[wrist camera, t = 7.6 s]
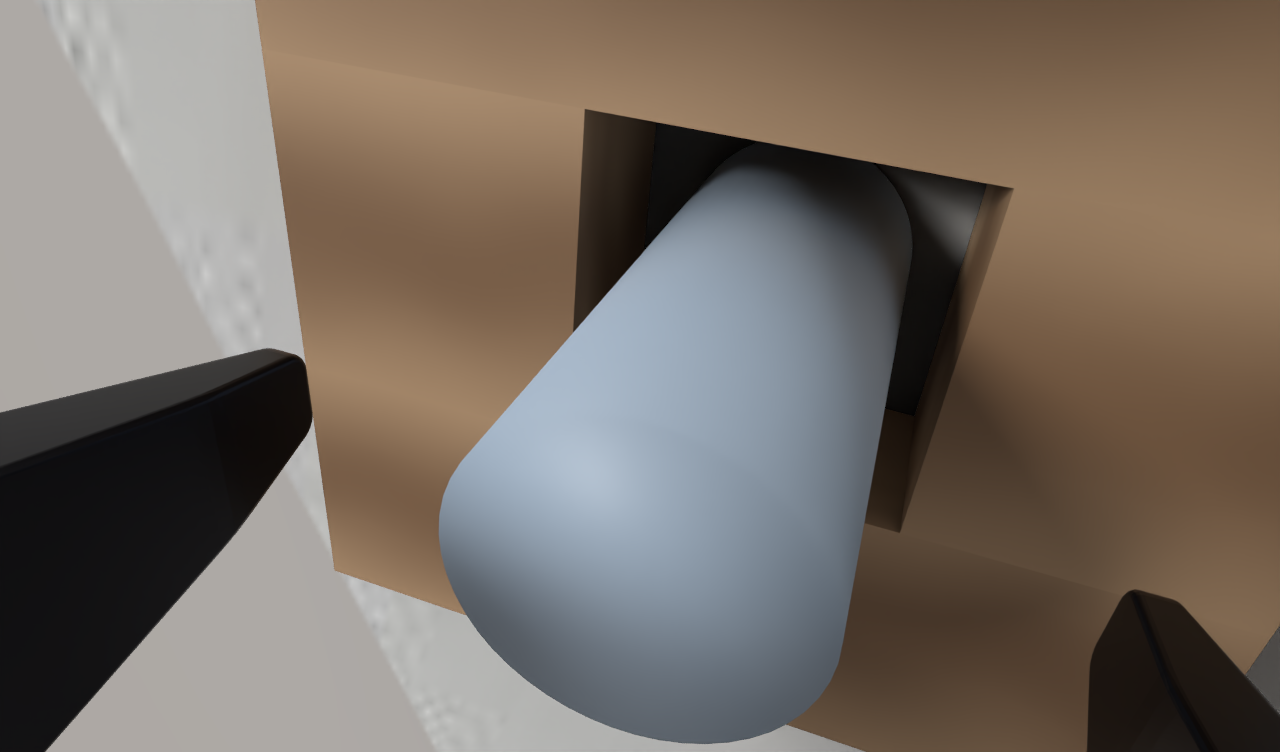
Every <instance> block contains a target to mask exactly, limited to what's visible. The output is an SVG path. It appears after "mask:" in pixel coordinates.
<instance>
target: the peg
mask: <svg viewBox="0 0 1280 752" xmlns="http://www.w3.org/2000/svg"><path fill="white" fill-rule="evenodd" d="M911 260H912V233H911V227H910V222H909V218H908V214H907V212H906V209H905V207H904V204H903V202H902V200H901V198H900V196H899V195H898V193H897V191H896V189H895V188H894V186H893V185H892V184H891V182H890V181H889V180H888V178H887V177H886V176H885V175H884V174H883V173H882V172H881V171H880V170H879V169H878V168H877V167H876V166H875V165H874V164H873V163H871V162H869V161H863V160H858V159H852V158H847V157H842V156H836V155H831V154H825V153H820V152H815V151H809V150H804V149H799V148H793V147H788V146H782V145H777V144H772V143H766V142H761V141H760V142H757V143H755V144H752V145H750V146H748V147H745V148H743V149H741V150H740V151H738V152H737V153H735V154H733V155H732V156H730V157H729V158H728V159H727V160H725V161H724V162H723V163H722V164H720V165H719V166H718V167H717V168H716V170H715V171H714V172H713V173H712V174H711V175H710V176H709V177H708V178H707V179H706V181H705V182H704V183H703V184H702V185H701V186H700V188H699V189H698V190H697V191H696V192H695V193H694V194H693V196H692V197H691V198H690V199H689V200H688V201H687V202H686V204H685V205H684V206H683V207H682V208H681V209H680V211H679V212H678V213H677V214H676V215H675V216H674V217H673V219H672V220H671V221H670V222H669V223H668V224H667V225H666V227H665V228H664V229H663V230H662V231H661V232H660V234H659V235H658V236H657V237H656V238H655V239H654V240H653V242H652V243H651V244H650V245H649V246H648V247H647V248H646V250H645V251H644V252H643V253H642V254H641V255H640V257H639V258H638V259H637V260H636V261H635V262H634V263H633V265H632V266H631V267H630V268H629V269H628V270H627V271H626V273H625V274H624V275H623V276H622V277H621V278H620V280H619V281H618V282H617V283H616V284H615V285H614V286H613V288H612V289H611V290H610V291H609V292H608V293H607V294H606V296H605V297H604V298H603V299H602V300H601V301H600V303H599V304H598V305H597V306H596V307H595V308H594V309H593V311H592V312H591V313H590V314H589V315H588V316H587V317H586V319H585V320H584V321H583V322H582V323H581V324H580V326H579V327H578V328H577V329H576V330H575V331H574V332H573V334H572V335H571V336H570V337H569V338H568V339H567V340H566V342H565V343H564V344H563V345H562V346H561V347H560V349H559V350H558V351H557V352H556V353H555V354H554V355H553V357H552V358H551V359H550V360H549V361H548V362H547V363H546V365H545V366H544V367H543V368H542V369H541V370H540V372H539V373H538V374H537V375H536V376H535V377H534V378H533V380H532V381H531V382H530V383H529V384H528V385H527V386H526V388H525V389H524V390H523V391H522V392H521V393H520V395H519V396H518V397H517V398H516V399H515V400H514V401H513V403H512V404H511V405H510V406H509V407H508V408H507V409H506V411H505V412H504V413H503V414H502V415H501V416H500V418H499V419H498V420H497V421H496V422H495V423H494V424H493V426H492V427H491V428H490V429H489V430H488V431H487V432H486V434H485V435H484V436H483V437H482V438H481V439H480V441H479V442H478V443H477V444H476V445H475V446H474V447H473V449H472V450H471V451H470V452H469V453H468V454H467V455H466V457H465V458H464V459H463V460H462V461H461V462H460V464H459V466H458V467H457V469H456V470H455V472H454V473H453V475H452V476H451V478H450V480H449V483H448V485H447V488H446V490H445V493H444V495H443V499H442V504H441V509H440V514H439V541H440V549H441V555H442V559H443V563H444V567H445V570H446V574H447V576H448V579H449V581H450V584H451V586H452V589H453V591H454V594H455V595H456V597H457V599H458V601H459V603H460V605H461V606H462V608H463V610H464V612H465V613H466V615H467V616H468V618H469V619H470V621H471V622H472V624H473V625H474V627H475V628H476V629H477V631H478V632H479V633H480V635H481V636H482V637H483V638H484V639H485V640H486V642H487V643H488V644H489V645H490V646H491V648H492V649H493V650H494V651H495V652H496V653H497V654H498V655H499V656H500V657H501V658H502V659H503V660H504V661H505V662H506V663H507V664H508V665H509V666H510V667H512V668H513V669H514V670H515V671H516V672H518V673H519V674H520V675H521V676H522V677H523V678H525V679H526V680H527V681H528V682H530V683H531V684H533V685H534V686H535V687H537V688H538V689H540V690H541V691H542V692H544V693H545V694H547V695H548V696H550V697H552V698H553V699H555V700H556V701H558V702H560V703H561V704H563V705H565V706H566V707H568V708H570V709H572V710H574V711H576V712H578V713H580V714H582V715H584V716H586V717H588V718H590V719H593V720H595V721H598V722H600V723H603V724H605V725H608V726H610V727H613V728H616V729H619V730H622V731H625V732H628V733H632V734H635V735H639V736H644V737H648V738H652V739H657V740H663V741H671V742H678V743H694V744H712V743H727V742H733V741H739V740H744V739H750V738H753V737H756V736H759V735H762V734H765V733H769V732H771V731H773V730H775V729H777V728H779V727H782V726H784V725H786V724H788V723H789V722H791V721H792V720H794V719H795V718H797V717H798V716H800V715H801V714H802V713H804V712H805V711H806V710H807V709H808V708H809V707H810V706H811V705H812V704H813V703H814V702H815V701H816V700H817V699H818V698H819V697H820V696H821V694H822V693H823V692H824V690H825V689H826V687H827V686H828V684H829V683H830V681H831V679H832V677H833V674H834V672H835V670H836V667H837V665H838V663H839V658H840V653H841V649H842V644H843V639H844V633H845V628H846V622H847V617H848V611H849V605H850V600H851V594H852V589H853V583H854V577H855V572H856V566H857V561H858V555H859V550H860V544H861V538H862V533H863V527H864V522H865V516H866V511H867V505H868V499H869V494H870V488H871V483H872V477H873V472H874V466H875V460H876V455H877V449H878V444H879V438H880V432H881V427H882V421H883V416H884V410H885V405H886V399H887V393H888V388H889V382H890V377H891V371H892V366H893V360H894V354H895V349H896V343H897V338H898V332H899V327H900V321H901V315H902V310H903V304H904V299H905V293H906V287H907V282H908V276H909V271H910V265H911Z"/></svg>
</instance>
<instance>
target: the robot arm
mask: <svg viewBox="0 0 1280 752" xmlns="http://www.w3.org/2000/svg"><path fill="white" fill-rule="evenodd" d="M312 417H313V412H312V404H311V397H310V390H309V383H308V376H307V369H306V365H305V363H304V361H303V360H302V359H301V358H300V357H299V356H297V355H294V354H291V353H287V352H284V351H280V350H276V349H272V348H266V349H261V350H257V351H253V352H248V353H244V354H240V355H236V356H232V357H228V358H224V359H220V360H215V361H211V362H208V363H203V364H199V365H195V366H191V367H187V368H182V369H178V370H174V371H170V372H166V373H162V374H158V375H154V376H149V377H145V378H141V379H137V380H133V381H129V382H125V383H120V384H116V385H112V386H108V387H104V388H100V389H96V390H92V391H87V392H83V393H79V394H75V395H71V396H67V397H63V398H59V399H55V400H50V401H46V402H42V403H38V404H34V405H30V406H25V407H21V408H17V409H13V410H9V411H5V412H1V413H0V752H46V750H47V749H48V748H49V747H50V746H51V745H52V744H53V742H54V741H55V740H56V739H57V738H58V737H59V736H60V734H61V733H62V732H63V731H64V730H65V728H67V726H68V725H69V724H70V723H71V722H72V720H74V718H75V717H76V716H77V715H78V714H79V713H80V711H81V710H82V709H83V708H84V707H85V706H86V705H87V704H88V702H89V701H90V700H91V699H92V698H93V697H94V696H95V694H96V693H97V692H98V691H99V690H100V689H101V688H102V686H103V685H104V684H105V683H106V682H107V681H108V680H109V678H110V677H111V676H112V675H113V674H114V672H116V670H117V669H118V668H119V667H120V666H121V665H122V663H123V662H124V661H125V660H126V659H127V658H128V657H129V656H130V654H131V653H132V652H133V651H134V650H135V649H136V648H137V646H138V645H139V644H140V643H141V642H142V641H143V640H144V639H145V637H146V636H147V635H148V634H149V633H150V632H151V631H152V629H153V628H154V627H155V626H156V625H157V624H158V623H159V621H160V620H161V619H162V618H163V617H164V616H165V615H166V613H167V612H168V611H169V610H170V609H171V608H172V607H173V605H174V604H175V603H176V602H177V601H178V600H179V599H180V597H181V596H182V595H183V594H184V593H185V592H186V590H187V589H188V588H189V587H190V586H191V585H192V584H193V583H194V581H195V580H196V579H197V578H198V577H199V575H201V573H202V572H203V571H204V570H205V569H206V568H207V566H208V565H209V564H210V563H211V562H212V561H213V560H214V559H215V557H216V556H217V555H218V554H219V553H220V552H221V551H222V549H223V548H224V547H225V546H226V545H227V543H228V542H229V541H230V540H231V539H232V537H233V536H234V535H235V534H236V533H237V531H238V530H239V529H240V527H241V526H242V525H243V523H244V522H245V521H246V519H247V518H248V517H249V515H250V514H251V513H252V511H253V510H254V508H255V507H256V506H257V504H258V503H259V501H260V500H261V498H262V497H263V496H264V494H265V493H266V491H267V490H268V489H269V487H270V486H271V484H272V483H273V481H274V480H275V479H276V477H277V476H278V475H279V473H280V472H281V470H282V469H283V468H284V466H285V465H286V463H287V462H288V461H289V459H290V458H291V456H292V455H293V454H294V452H295V451H296V449H297V448H298V446H299V445H300V444H301V442H302V441H303V439H304V438H305V437H306V435H307V433H308V431H309V429H310V427H311V423H312ZM1087 752H1280V714H1279V713H1278V712H1277V711H1276V709H1275V708H1274V707H1273V706H1272V705H1271V704H1270V703H1269V702H1268V700H1267V699H1266V698H1265V697H1264V696H1263V695H1262V694H1261V693H1260V691H1259V690H1258V689H1257V688H1256V687H1255V686H1254V685H1253V684H1252V682H1251V681H1250V680H1249V679H1248V678H1247V677H1246V676H1245V675H1244V673H1243V672H1242V671H1241V670H1240V669H1239V668H1238V667H1237V666H1236V664H1235V663H1234V662H1233V661H1232V660H1231V659H1230V658H1229V657H1228V655H1227V654H1226V653H1225V652H1224V651H1223V650H1222V649H1221V648H1220V646H1219V645H1218V644H1217V643H1216V642H1215V641H1214V640H1213V639H1212V638H1211V636H1210V635H1209V634H1208V633H1207V632H1206V631H1205V630H1204V629H1203V627H1202V626H1201V625H1200V624H1199V623H1198V622H1197V621H1196V620H1195V618H1194V617H1193V616H1192V615H1191V614H1190V613H1189V612H1188V611H1187V609H1186V608H1185V607H1184V606H1183V605H1182V604H1180V603H1179V602H1178V601H1176V600H1174V599H1171V598H1167V597H1163V596H1160V595H1156V594H1153V593H1149V592H1145V591H1142V590H1138V589H1134V590H1131V591H1128V592H1127V593H1126V594H1125V595H1124V596H1123V597H1122V598H1121V600H1120V601H1119V603H1118V605H1117V607H1116V609H1115V610H1114V612H1113V614H1112V616H1111V618H1110V620H1109V621H1108V623H1107V625H1106V627H1105V629H1104V631H1103V632H1102V634H1101V636H1100V638H1099V640H1098V642H1097V643H1096V646H1095V648H1094V650H1093V653H1092V657H1091V662H1090V669H1089V696H1088V728H1087Z"/></svg>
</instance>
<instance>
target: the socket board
mask: <svg viewBox="0 0 1280 752" xmlns="http://www.w3.org/2000/svg"><path fill="white" fill-rule="evenodd" d="M255 3H256V10H257V17H258V24H259V32H260V39H261V46H262V53H263V60H264V67H265V75H266V82H267V89H268V96H269V103H270V110H271V118H272V125H273V132H274V139H275V146H276V153H277V161H278V168H279V175H280V182H281V189H282V196H283V204H284V211H285V218H286V225H287V232H288V239H289V247H290V254H291V261H292V268H293V275H294V282H295V290H296V297H297V304H298V311H299V318H300V325H301V332H302V340H303V347H304V354H305V361H306V368H307V375H308V383H309V390H310V397H311V404H312V411H313V418H314V426H315V433H316V440H317V447H318V454H319V461H320V469H321V476H322V483H323V490H324V497H325V504H326V512H327V519H328V526H329V533H330V540H331V547H332V555H333V562H334V569H335V571H338V572H341V573H344V574H347V575H350V576H353V577H356V578H358V579H361V580H364V581H367V582H370V583H373V584H376V585H379V586H382V587H385V588H388V589H391V590H394V591H397V592H400V593H402V594H405V595H408V596H411V597H414V598H417V599H420V600H423V601H426V602H429V603H432V604H435V605H438V606H441V607H444V608H446V609H449V610H452V611H455V612H458V613H461V614H464V615H466V613H465V612H464V610H463V608H462V606H461V605H460V603H459V601H458V599H457V597H456V595H455V594H454V591H453V589H452V586H451V584H450V581H449V579H448V576H447V574H446V570H445V567H444V563H443V559H442V555H441V549H440V541H439V514H440V509H441V504H442V499H443V495H444V493H445V490H446V488H447V485H448V483H449V480H450V478H451V476H452V475H453V473H454V472H455V470H456V469H457V467H458V466H459V464H460V462H461V461H462V460H463V459H464V458H465V457H466V455H467V454H468V453H469V452H470V451H471V450H472V449H473V447H474V446H475V445H476V444H477V443H478V442H479V441H480V439H481V438H482V437H483V436H484V435H485V434H486V432H487V431H488V430H489V429H490V428H491V427H492V426H493V424H494V423H495V422H496V421H497V420H498V419H499V418H500V416H501V415H502V414H503V413H504V412H505V411H506V409H507V408H508V407H509V406H510V405H511V404H512V403H513V401H514V400H515V399H516V398H517V397H518V396H519V395H520V393H521V392H522V391H523V390H524V389H525V388H526V386H527V385H528V384H529V383H530V382H531V381H532V380H533V378H534V377H535V376H536V375H537V374H538V373H539V372H540V370H541V369H542V368H543V367H544V366H545V365H546V363H547V362H548V361H549V360H550V359H551V358H552V357H553V355H554V354H555V353H556V352H557V351H558V350H559V349H560V347H561V346H562V345H563V344H564V343H565V342H566V340H567V339H568V338H569V337H570V336H571V335H572V334H573V332H574V331H575V330H576V329H577V328H578V327H579V326H580V324H581V323H582V322H583V321H584V320H585V319H586V317H587V316H588V315H589V314H590V313H591V312H592V311H593V309H594V308H595V307H596V306H597V305H598V304H599V303H600V301H601V300H602V299H603V298H604V297H605V296H606V294H607V293H608V292H609V291H610V290H611V289H612V288H613V286H614V285H615V284H616V283H617V282H618V281H619V280H620V278H621V277H622V276H623V275H624V274H625V273H626V271H627V270H628V269H629V268H630V267H631V266H632V265H633V263H634V262H635V261H636V260H637V259H638V258H639V257H640V255H641V254H642V253H643V252H644V244H645V234H646V224H647V213H648V203H649V193H650V182H651V172H652V162H653V152H654V141H655V131H656V122H658V123H664V124H669V125H675V126H680V127H685V128H691V129H696V130H701V131H707V132H712V133H718V134H723V135H728V136H734V137H739V138H745V139H750V140H755V141H761V142H766V143H772V144H777V145H782V146H788V147H793V148H799V149H804V150H809V151H815V152H820V153H825V154H831V155H836V156H842V157H847V158H852V159H858V160H863V161H869V162H874V163H879V164H885V165H890V166H896V167H901V168H906V169H912V170H917V171H923V172H928V173H933V174H939V175H944V176H949V177H955V178H960V179H966V180H971V181H976V182H982V183H987V186H986V189H985V193H984V196H983V199H982V202H981V205H980V209H979V212H978V215H977V218H976V221H975V224H974V228H973V231H972V234H971V237H970V240H969V244H968V247H967V250H966V253H965V256H964V260H963V263H962V266H961V269H960V272H959V276H958V279H957V282H956V285H955V288H954V292H953V295H952V298H951V301H950V304H949V307H948V311H947V314H946V317H945V320H944V323H943V327H942V330H941V333H940V336H939V339H938V343H937V346H936V349H935V352H934V355H933V359H932V362H931V365H930V368H929V371H928V375H927V378H926V381H925V384H924V387H923V390H922V394H921V397H920V400H919V403H918V406H917V410H916V413H915V416H912V415H908V414H904V413H900V412H896V411H892V410H888V409H885V410H884V416H883V421H882V427H881V432H880V438H879V444H878V449H877V455H876V460H875V466H874V472H873V477H872V483H871V488H870V494H869V499H868V505H867V511H866V516H865V522H864V527H863V533H862V538H861V544H860V550H859V555H858V561H857V566H856V572H855V577H854V583H853V589H852V594H851V600H850V605H849V611H848V617H847V622H846V628H845V633H844V639H843V644H842V649H841V653H840V658H839V663H838V665H837V667H836V670H835V672H834V674H833V677H832V679H831V681H830V683H829V684H828V686H827V687H826V689H825V690H824V692H823V693H822V694H821V696H820V697H819V698H818V699H817V700H816V701H815V702H814V703H813V704H812V705H811V706H810V707H809V708H808V709H807V710H806V711H805V712H804V713H802V714H801V715H800V716H798V717H797V718H795V719H794V720H792V721H791V722H789V723H788V724H786V725H789V726H792V727H795V728H798V729H801V730H804V731H807V732H810V733H813V734H816V735H819V736H822V737H825V738H828V739H830V740H833V741H836V742H839V743H842V744H845V745H848V746H851V747H854V748H857V749H860V750H863V751H866V752H1087V728H1088V696H1089V669H1090V662H1091V657H1092V653H1093V650H1094V648H1095V646H1096V643H1097V642H1098V640H1099V638H1100V636H1101V634H1102V632H1103V631H1104V629H1105V627H1106V625H1107V623H1108V621H1109V620H1110V618H1111V616H1112V614H1113V612H1114V610H1115V609H1116V607H1117V605H1118V603H1119V601H1120V600H1121V598H1122V597H1123V596H1124V595H1125V594H1126V593H1127V592H1128V591H1131V590H1134V589H1138V590H1142V591H1145V592H1149V593H1153V594H1156V595H1160V596H1163V597H1167V598H1171V599H1174V600H1176V601H1178V602H1179V603H1180V604H1182V605H1183V606H1184V607H1185V608H1186V609H1187V611H1188V612H1189V613H1190V614H1191V615H1192V616H1193V617H1194V618H1195V620H1196V621H1197V622H1198V623H1199V624H1200V625H1201V626H1202V627H1203V629H1204V630H1205V631H1206V632H1207V633H1208V634H1209V635H1210V636H1211V638H1212V639H1213V640H1214V641H1215V642H1216V643H1217V644H1218V645H1219V646H1220V648H1221V649H1222V650H1223V651H1224V652H1225V653H1226V654H1227V655H1228V657H1229V658H1230V659H1231V660H1232V661H1233V662H1234V663H1235V664H1236V666H1237V667H1238V668H1239V669H1240V670H1241V671H1242V672H1243V673H1244V675H1245V674H1246V673H1247V671H1248V670H1249V669H1250V667H1251V666H1252V664H1253V663H1254V661H1255V660H1256V659H1257V657H1258V656H1259V654H1260V653H1261V651H1262V650H1263V649H1264V647H1265V646H1266V644H1267V643H1268V641H1269V640H1270V638H1271V637H1272V636H1273V634H1274V633H1275V631H1276V630H1277V628H1278V627H1279V626H1280V0H255Z"/></svg>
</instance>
